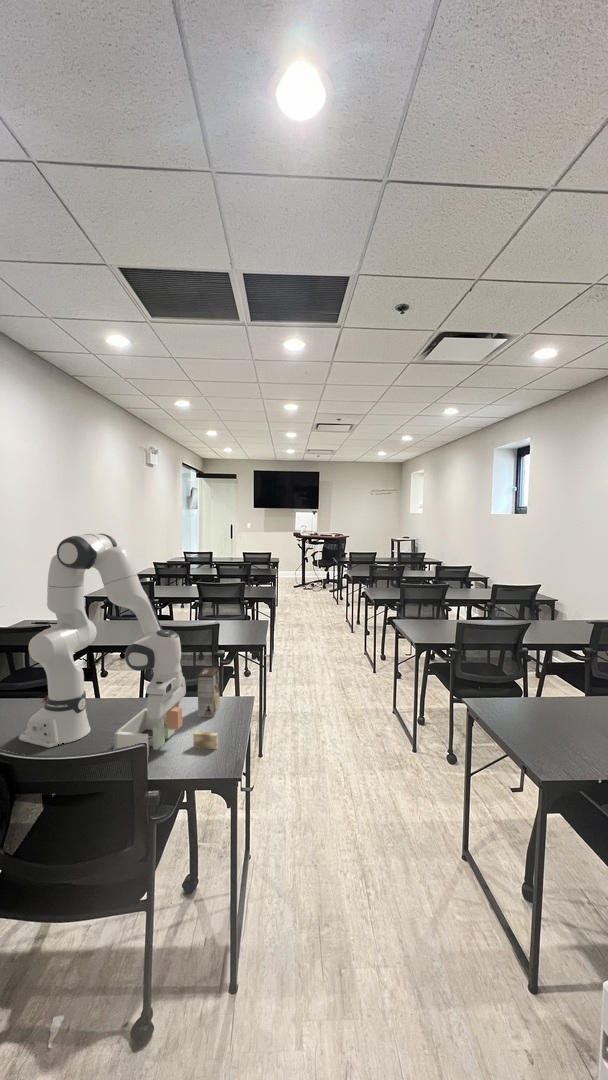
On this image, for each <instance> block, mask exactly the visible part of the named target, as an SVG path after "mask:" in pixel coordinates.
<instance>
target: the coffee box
mask: <svg viewBox="0 0 608 1080" xmlns="http://www.w3.org/2000/svg"><path fill="white" fill-rule="evenodd" d="M196 680H197V711H198V712H197V713H198V714H197V716H198V718H214V717H215V716H216V715H215V714H217V713H218V711H219V709H220V707H221V706H220V702H221V701H220V697H221V696H220V667H204V668H203V669H201V671H199V673H198V675H197V678H196ZM216 712H217V713H216Z"/></svg>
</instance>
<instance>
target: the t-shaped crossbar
mask: <svg viewBox="0 0 608 1080" xmlns="http://www.w3.org/2000/svg"><path fill="white" fill-rule="evenodd" d="M182 709H183V707H180V706H179V707H172V708H171V709H170V710H169V711H167V712H166V716H165V717H164V718H163V720H164V721H165V726H164V727H163V728H159V727H158V724H157V725H156V726H155V727H154V728H153V730H152V736H153V746H152V750H156V751H157V750H159V749H160V748H161V747H162V746H163V745H164V744H165V742H166V741H165V739H169V738H171V737H172V735H173V734H174V733H175V732H176V731H178V730H179V729H181V727H182V726H183V710H182Z"/></svg>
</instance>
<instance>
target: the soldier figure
mask: <svg viewBox="0 0 608 1080" xmlns="http://www.w3.org/2000/svg"><path fill="white" fill-rule="evenodd" d="M149 739H150V740H149ZM150 747H153V735H150V736H148V749H149V750H150Z"/></svg>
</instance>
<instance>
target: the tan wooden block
mask: <svg viewBox="0 0 608 1080" xmlns="http://www.w3.org/2000/svg"><path fill="white" fill-rule="evenodd" d="M192 735H193V737H192V739H193V748H197V749H198V748H199V749H208V750H209V749H210V750H217V749H218V748H219V733H218V732H208V731H194V732H193V734H192Z"/></svg>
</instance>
